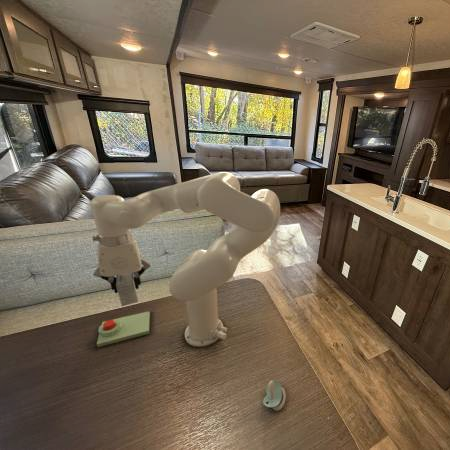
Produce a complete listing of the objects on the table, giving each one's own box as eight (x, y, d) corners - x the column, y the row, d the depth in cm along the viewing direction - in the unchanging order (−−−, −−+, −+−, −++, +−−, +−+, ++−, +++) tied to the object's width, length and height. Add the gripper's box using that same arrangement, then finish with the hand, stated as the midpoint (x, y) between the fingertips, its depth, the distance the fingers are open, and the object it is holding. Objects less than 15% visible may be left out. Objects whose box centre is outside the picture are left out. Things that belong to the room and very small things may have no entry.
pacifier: (287, 387, 71) (267, 384, 72) (289, 373, 69) (268, 369, 69) (283, 415, 65) (261, 411, 65) (285, 400, 62) (262, 396, 63)
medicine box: (138, 302, 79) (133, 280, 75) (121, 307, 76) (115, 284, 73) (136, 288, 84) (132, 267, 81) (121, 292, 82) (115, 270, 79)
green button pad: (149, 314, 92) (148, 307, 91) (149, 333, 84) (147, 327, 83) (103, 324, 86) (101, 318, 84) (97, 347, 78) (95, 340, 76)
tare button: (116, 322, 84) (115, 318, 83) (114, 329, 81) (113, 325, 81) (105, 325, 82) (104, 321, 82) (103, 331, 80) (102, 327, 79)
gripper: (74, 248, 65) (91, 302, 72) (149, 239, 73) (157, 289, 80) (81, 236, 71) (96, 287, 78) (150, 229, 79) (157, 276, 86)
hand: (127, 288), depth 79 cm, fingers closed on medicine box, 4 cm apart
